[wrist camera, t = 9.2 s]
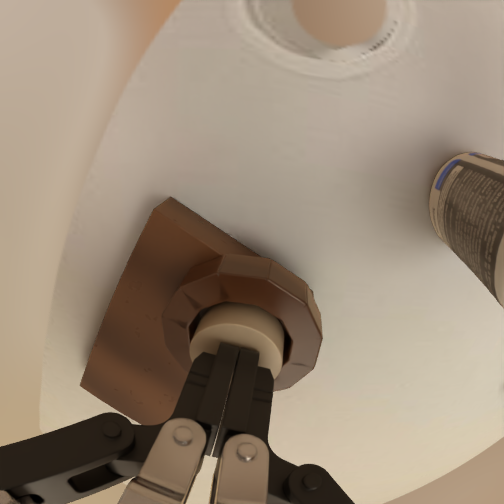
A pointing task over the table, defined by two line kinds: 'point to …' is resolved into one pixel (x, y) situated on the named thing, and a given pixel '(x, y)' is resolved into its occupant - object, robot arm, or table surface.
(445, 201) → the pill bottle
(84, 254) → the table surface
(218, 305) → the key
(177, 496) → the robot arm
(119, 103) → the table surface
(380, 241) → the table surface
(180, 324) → the brown flat piece
